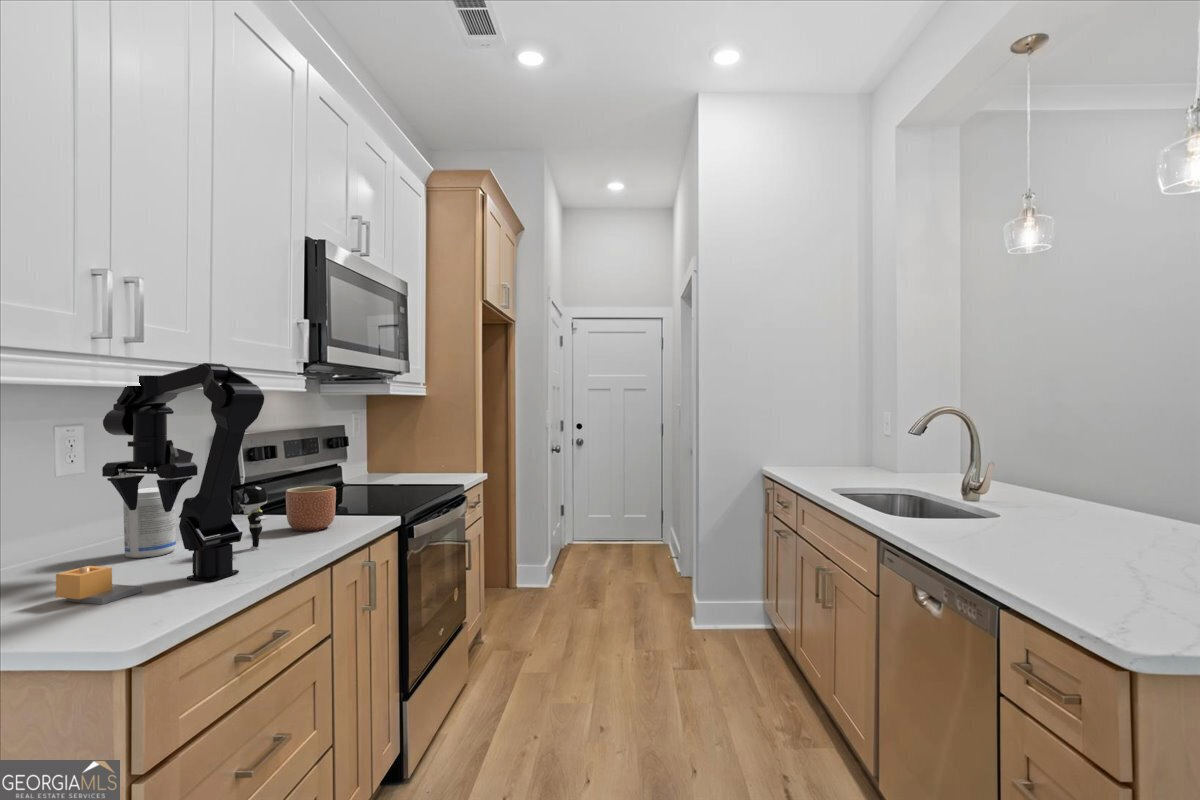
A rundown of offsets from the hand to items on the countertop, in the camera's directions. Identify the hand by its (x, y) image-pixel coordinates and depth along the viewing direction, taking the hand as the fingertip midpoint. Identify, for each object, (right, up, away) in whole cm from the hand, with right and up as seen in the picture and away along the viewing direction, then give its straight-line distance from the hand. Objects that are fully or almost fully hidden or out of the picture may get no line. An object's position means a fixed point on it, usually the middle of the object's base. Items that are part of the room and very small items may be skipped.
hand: (150, 510), depth 127 cm
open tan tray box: (+3, -11, -20) cm, 23 cm away
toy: (+12, -12, +17) cm, 24 cm away
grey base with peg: (+5, -12, -18) cm, 23 cm away
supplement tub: (-9, -12, +13) cm, 20 cm away
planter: (+15, -12, +40) cm, 44 cm away
